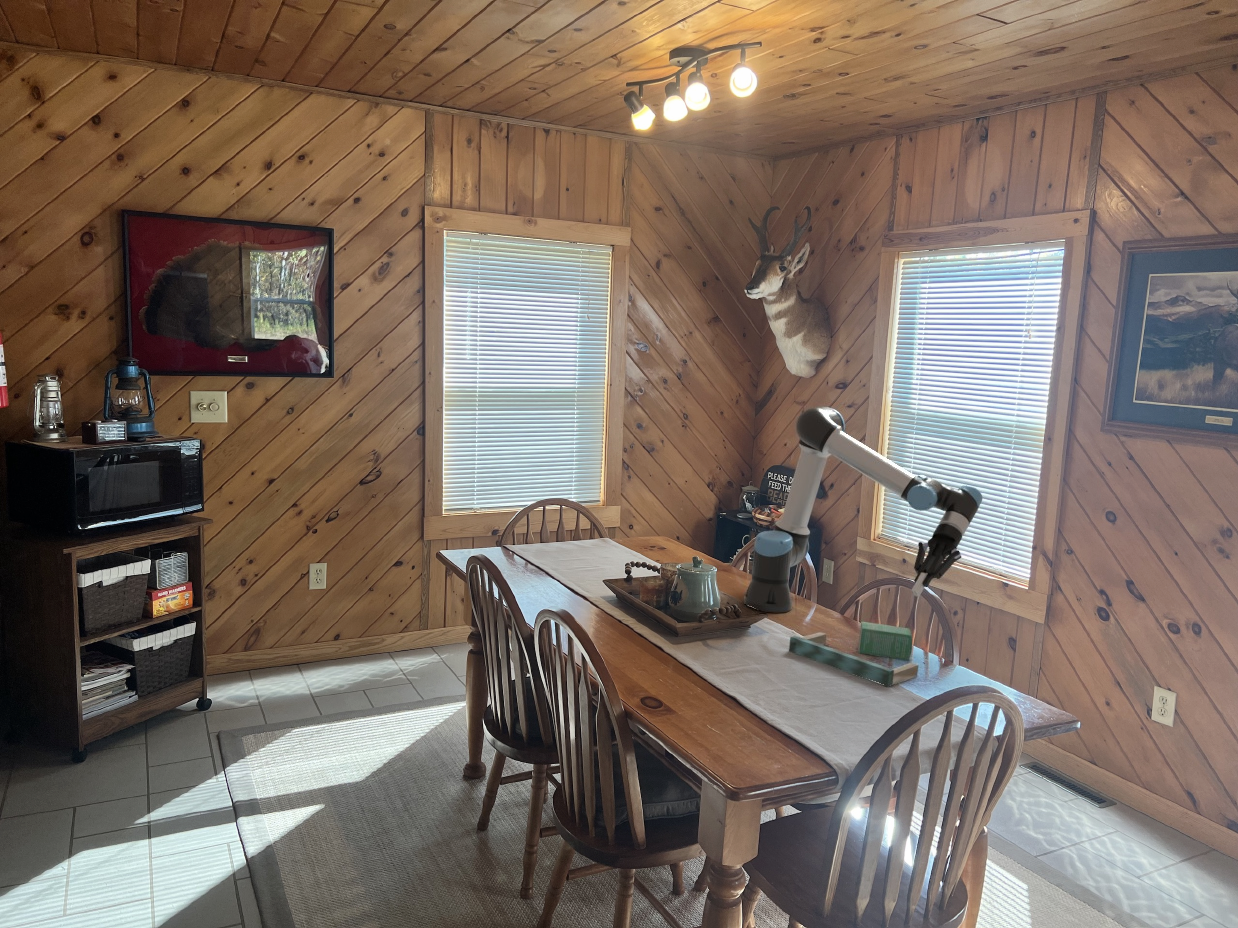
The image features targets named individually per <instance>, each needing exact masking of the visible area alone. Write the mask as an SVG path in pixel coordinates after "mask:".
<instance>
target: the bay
mask: <svg viewBox="0 0 1238 928" xmlns="http://www.w3.org/2000/svg"><path fill="white" fill-rule="evenodd" d="M826 642H827V633H825V632H819V631H818V632H816V633H812V634H808V635H804V636H801V637H800V636H797V635H792V636H790V637H789V645H788V646H789V648H788V652H791V653H793V654H796V655H798V656H802V657H804V658H806V659H809V660H812V661H816V662H818V663H821V664H822V665H823V664H824V665H825V666H829V667H832V668H833V669H837V670H840V671H842V670H843V672H846V673H847V674H850V673H851V675H853V674H854V675H853V676H856V675H857V676H856V677H859V676H860V677H859V678H861V677H863V678H862V679H864V678H867V679H870V680H873V681H876V682H879V683H881V684H884V685H885V686H884V687H886V686H890V685H893V684H895V685H897V683H898V684H901V683H903V682H905V681H908V680H911V679H914V678H917V677H918V673H919V664H917V663H914V662H909V663H907V664H904V665H901V666H897V667H895V668H889V667H886V666H884V665H880V664H879V663H875V662H871V661H869V660H866V659H863V658H860V657H858V656H855V655H851V654H849V653H847V652H843V651H841V650H839V649H835V648H832V647H829V646H826ZM867 679H866V680H867ZM870 680H869V681H870ZM881 684H880V685H881ZM893 686H894V685H893ZM890 687H891V686H890Z"/></svg>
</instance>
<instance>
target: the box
mask: <svg viewBox="0 0 1238 928" xmlns="http://www.w3.org/2000/svg"><path fill="white" fill-rule="evenodd" d="M857 650H858V651H859V652H858V654H862V655H869V656H875V655H876V656H877V657H883V658H889V657H890V659H894V660H895V659H896V660H903V661H910V658H911V655H912V650H913V635H912V631H911V629H910V628H908V627H901V626H893V625H888V624H881V623H874V622H867V621H861V622H860V628H859V635H858V642H857Z"/></svg>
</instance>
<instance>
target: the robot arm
mask: <svg viewBox="0 0 1238 928" xmlns="http://www.w3.org/2000/svg"><path fill="white" fill-rule="evenodd" d="M845 424H846V422H845V420H844V418H843V415H842V414H841V413H840V412H839V411H838V410H836V409H835V408H831V407H827V406H820V407H811V408H807V409H806V410H803V411H802V412H801V413H800V415H799V416H798V417H797V419H796V422H795V431H796V432H795V433H796V434H797V436H798V438H799V440H798V446H799V448H800V449H801V450H800V454H799V458H798V460H797V464H796V468H795V471H794V475H793V479H792V481H791V485H790V489H789V492H788V494H787V495H788V496H787V499H786V501H785V505H784V509H783V512H782V516H781V519H779V520H777V521H776V522H775V523H774V527H773V530H764V531H761V532H759V533H758V534H757V535H756V536H755V540H754V542H753V543H754V545H753V547H754V548H753V558H752V571H751V580H750V582H749V584H748V588H747V589H746V592H745V594H744V597H743V605H744V604H746V605H749V606H752V607H754V608H756V609H758V610H757V611H759V610H762V611H761V612H765V613H774V614H775V613H778V614H779V613H787V612H790V611H791V610H792V607H793V600H792V597H791V590H790V587H789V580H790V570H791V568H792V567H794V566H797V565H798V564H800V563H802V561H803V560H804V559H805V558H806V556H807V555H808V553H809V549H810V544H809V538H810V534H811V531H810V529H809V528H808V524H809V521H810V517H811V514H812V511H813V508H814V504H815V500H816V498H817V494H818V491H819V487H820V483H821V481H822V478H823V474H824V470H825V468H826V464H827V460H828V458H829V457H830V456H833V457H835V458H836V459H838V460H839V461H841V462H842V463H844V464H846V465H848V466H849V467H851V468H853V469H854V470H856V471H858V472H859V473H860V474H862V475H864V476H866V477H867V478H868V479H871V480H872V481H874V482H875V483H877V484H878V485H880V486H882V487H883V488H885V489H887V490H888V491H890V492H892V493H893V494H894V495H896V496H898V497H900V498H901V499H902V500H904V501H906V502H907V503H908V505H909V506H910V507H911V508H912V509H913V510H916V511H918V512H919V511H920V512H923V511H928V510H930V509H932V508H937V509H939V510H940V511H942V512H945V513H944V514H943V516H942V517H941V519H940V521H939V523H938V525H937V526H936V528H935V529H934V531H933V533H932V537H931V538H930V539H929V540H928V541H927V542H925V543H923V542H921V541H920V542H917V545H918V551H917V553H916V554H917V555H916V559H915V562H914V566H913V569H914V571H915V573H916V574H917V575H916V576H915V578H914V581H913V582H914V583H915V584H914V585H913V586H912V588H911V593H912V594H913V596H914V597H918V598H920V596H921V594H922V592H923V591H924V589H925V588H927V587H929V586H930V583H931V581H932V580H933V579H937V580H940V579H941V578H942V577H943V576H944V574H945V573H947V571H948V570H949V569H950V568H951V567H952V566H953V565H954V564H955V563H956V562H957V561H959V560H961V559H962V554H961V552H960V550H958V546H959V545H960V542H961V541H962V539H963V536H964V535H965V533H966V532H967V530H968V528H969V527H970V524H971V522H972V520H973V518H975V515H976V514H977V512H978V511H979V508H980V506H981V504H982V501H983V495H982V493H981V491H980V490H979V489H977V488H976V487H974V486H972V485H966V484H964V485H961V486H960V487H959V488H955V487H952V486H950V485H948V484H945V483H942V482H941V481H938V480H936V479H934V478H932V477H930V476H929V477H928V476H926V475H924V474H919V475H917V476H916V475H914V474H913V473H911V472H910V471H908V470H907V469H905V468H903V467H901V466H900V465H898V464H896V463H895V462H893V461H892V460H890V459H888V458H886V457H885V456H883V455H881V453H878V452H876V451H875V450H873V449H872V448H870V447H868V446H866V445H865V444H863V443H862V442H860V441H858V440H857V439H855V438H853V437H851V436H850V435H848V434H846V433H845V429H846V425H845ZM927 549H929V550H927ZM927 551H928V552H927ZM926 552H927V555H926ZM746 605H745V606H746Z"/></svg>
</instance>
